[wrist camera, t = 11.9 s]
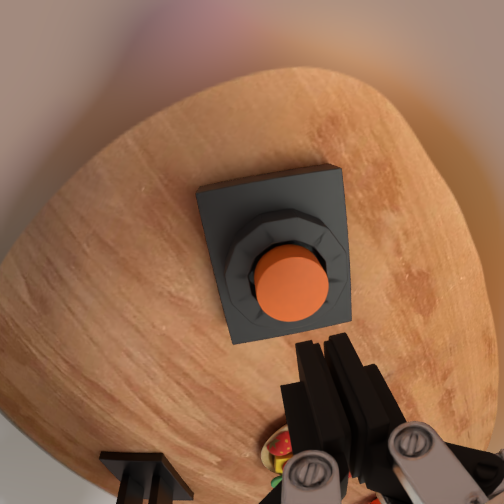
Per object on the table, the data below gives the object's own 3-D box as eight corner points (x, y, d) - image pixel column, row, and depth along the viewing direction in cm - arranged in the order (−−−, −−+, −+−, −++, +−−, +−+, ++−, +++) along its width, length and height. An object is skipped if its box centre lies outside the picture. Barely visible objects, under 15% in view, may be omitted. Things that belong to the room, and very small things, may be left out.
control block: (199, 186, 19) (191, 200, 15) (330, 163, 19) (353, 172, 15) (232, 326, 22) (232, 363, 19) (342, 304, 22) (360, 336, 19)
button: (248, 251, 16) (250, 264, 15) (316, 238, 16) (326, 250, 15) (259, 310, 18) (262, 327, 16) (322, 297, 18) (331, 314, 16)
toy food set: (395, 388, 26) (408, 411, 23) (370, 457, 31) (377, 477, 28) (256, 411, 26) (259, 439, 23) (262, 476, 31) (264, 498, 28)
